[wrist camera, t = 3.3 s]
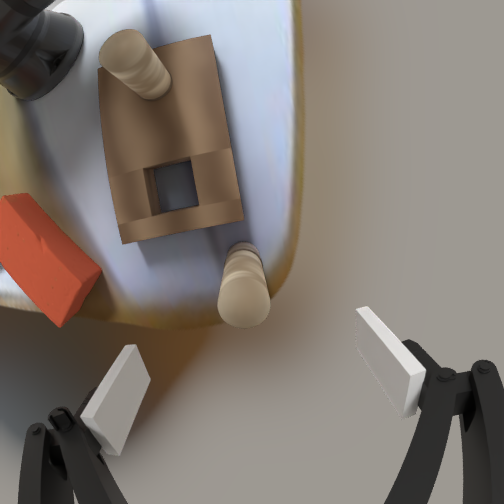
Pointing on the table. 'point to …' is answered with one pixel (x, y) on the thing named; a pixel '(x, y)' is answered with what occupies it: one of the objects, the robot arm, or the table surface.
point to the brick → (44, 259)
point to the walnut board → (164, 133)
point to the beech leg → (243, 288)
